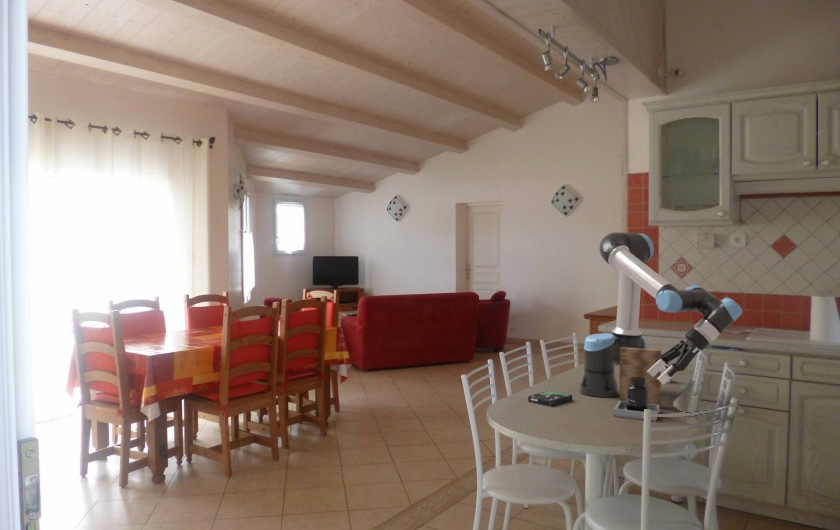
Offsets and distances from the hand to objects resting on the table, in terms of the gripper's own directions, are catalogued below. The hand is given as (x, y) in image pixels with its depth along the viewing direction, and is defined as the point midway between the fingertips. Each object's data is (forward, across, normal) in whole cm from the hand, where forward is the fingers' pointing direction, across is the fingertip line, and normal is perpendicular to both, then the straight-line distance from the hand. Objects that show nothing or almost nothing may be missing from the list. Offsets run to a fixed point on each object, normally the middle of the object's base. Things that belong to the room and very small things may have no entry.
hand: (655, 377), depth 210 cm
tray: (+13, +1, -5) cm, 14 cm away
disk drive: (+34, +16, +14) cm, 40 cm away
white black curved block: (-1, +63, -20) cm, 66 cm away
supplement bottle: (+13, +1, -5) cm, 14 cm away
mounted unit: (+10, +14, -8) cm, 20 cm away
